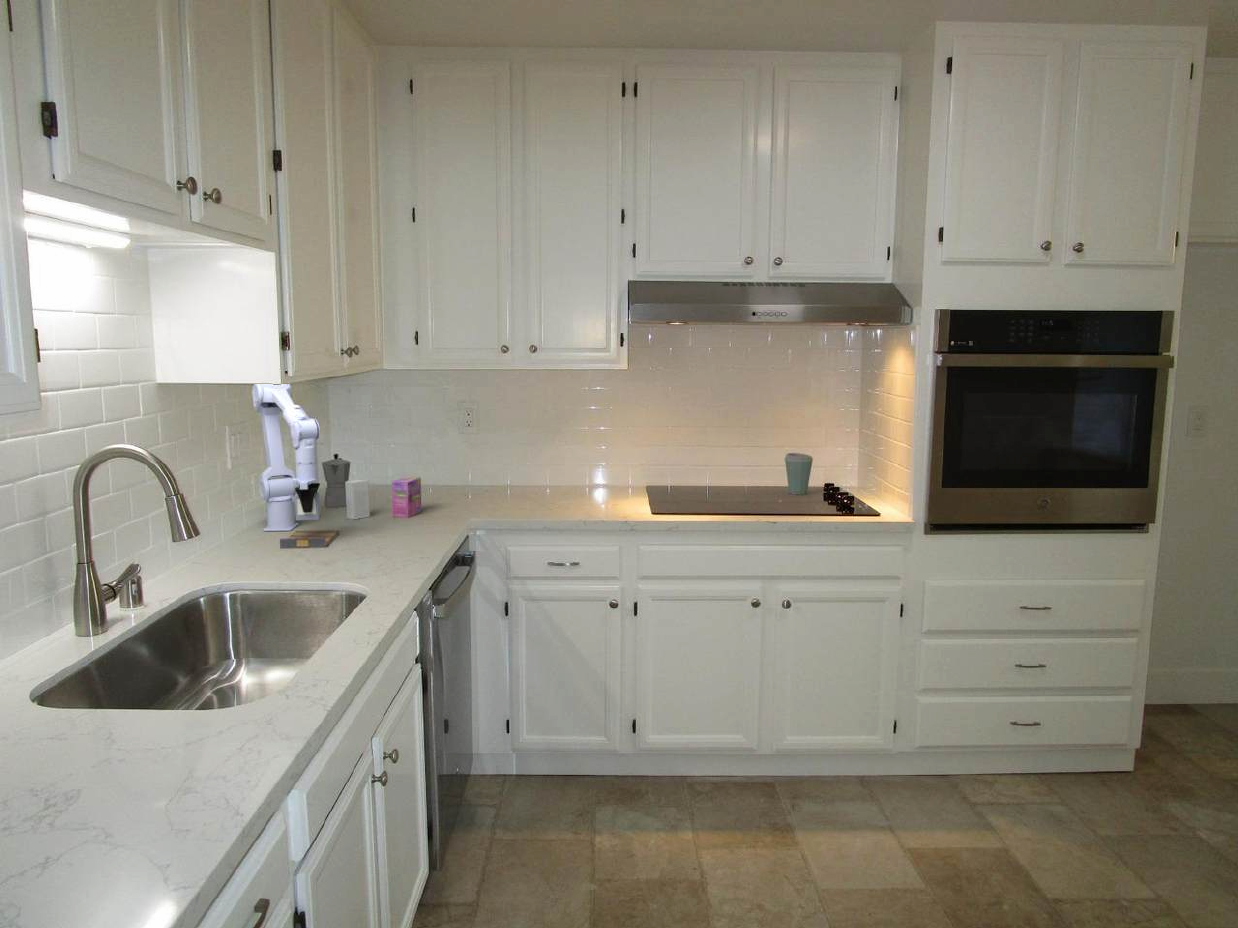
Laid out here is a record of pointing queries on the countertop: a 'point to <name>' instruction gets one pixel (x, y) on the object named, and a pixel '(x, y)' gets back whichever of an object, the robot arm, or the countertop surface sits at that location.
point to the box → (406, 497)
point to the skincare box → (357, 499)
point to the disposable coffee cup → (798, 472)
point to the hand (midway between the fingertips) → (308, 510)
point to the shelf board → (316, 534)
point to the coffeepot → (336, 481)
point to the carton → (309, 515)
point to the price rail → (302, 542)
